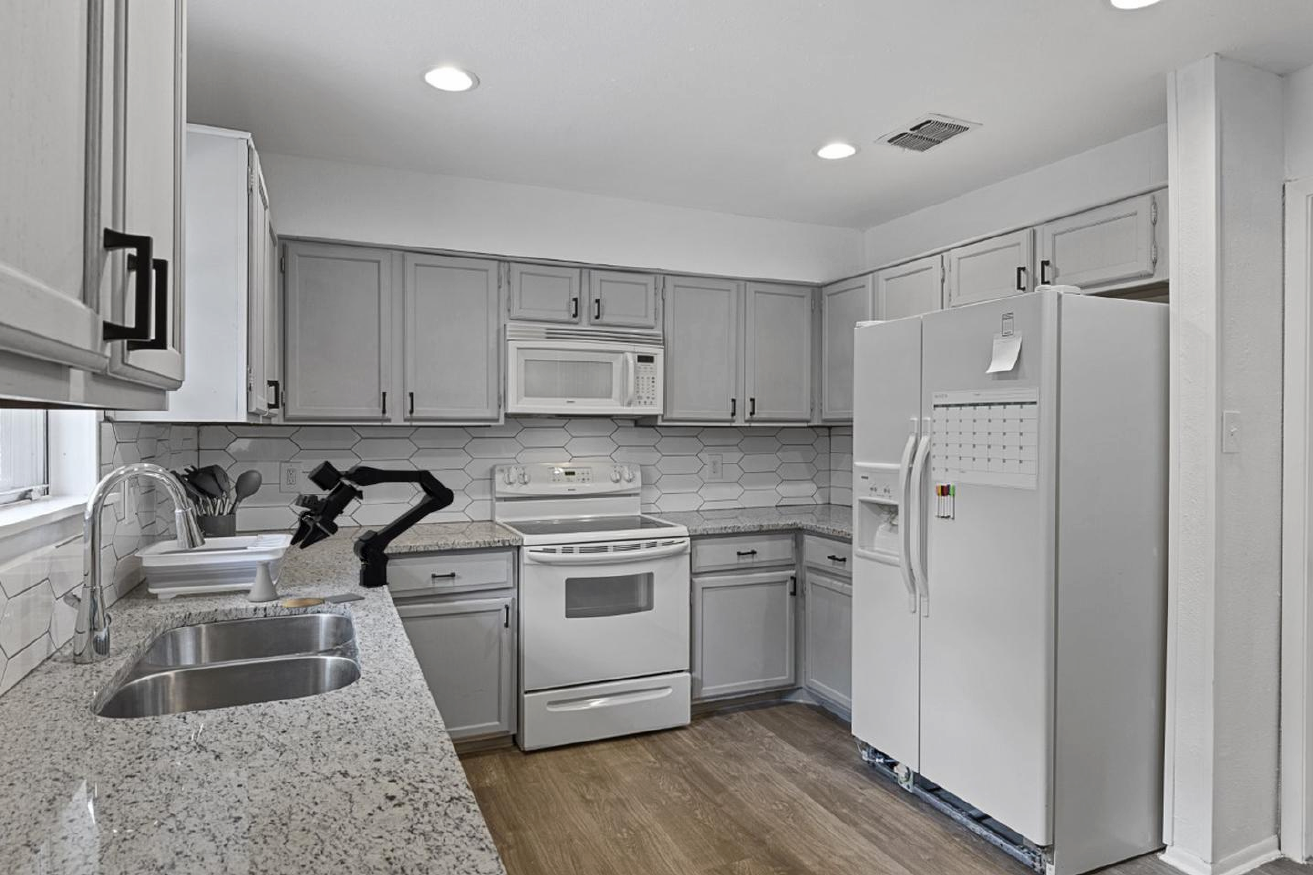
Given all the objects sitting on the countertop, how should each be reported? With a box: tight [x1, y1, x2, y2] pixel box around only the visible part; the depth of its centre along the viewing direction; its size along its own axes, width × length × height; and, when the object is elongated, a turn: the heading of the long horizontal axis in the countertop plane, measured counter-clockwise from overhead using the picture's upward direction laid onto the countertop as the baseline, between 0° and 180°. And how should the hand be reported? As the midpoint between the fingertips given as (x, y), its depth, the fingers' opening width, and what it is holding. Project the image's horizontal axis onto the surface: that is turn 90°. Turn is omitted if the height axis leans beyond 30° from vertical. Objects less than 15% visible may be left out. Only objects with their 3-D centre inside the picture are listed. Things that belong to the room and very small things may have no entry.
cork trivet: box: [280, 596, 325, 608], centre depth 202 cm, size 10×10×1 cm
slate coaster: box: [322, 592, 366, 605], centre depth 207 cm, size 8×8×1 cm
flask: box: [247, 560, 280, 602], centre depth 207 cm, size 7×7×10 cm
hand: (295, 546), depth 212 cm, fingers open, 9 cm apart
